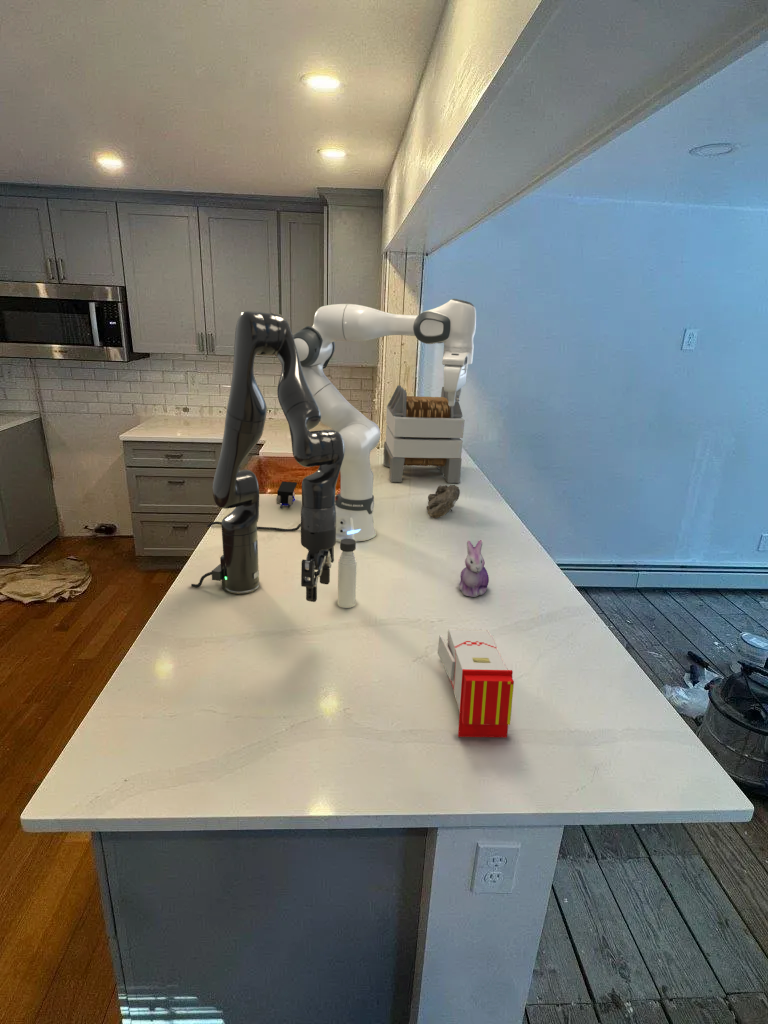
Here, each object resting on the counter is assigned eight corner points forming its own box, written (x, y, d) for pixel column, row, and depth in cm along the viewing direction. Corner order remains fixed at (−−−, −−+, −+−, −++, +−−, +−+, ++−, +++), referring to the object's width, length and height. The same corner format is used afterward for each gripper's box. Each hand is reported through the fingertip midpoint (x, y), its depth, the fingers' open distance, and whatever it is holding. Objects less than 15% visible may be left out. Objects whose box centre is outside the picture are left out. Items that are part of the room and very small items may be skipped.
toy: (488, 613, 130) (523, 677, 101) (484, 667, 133) (517, 744, 104) (435, 612, 130) (455, 676, 101) (432, 666, 133) (451, 743, 103)
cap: (354, 545, 148) (354, 538, 148) (356, 551, 145) (357, 544, 144) (338, 546, 147) (339, 538, 147) (341, 552, 144) (341, 544, 143)
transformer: (382, 463, 289) (386, 382, 275) (445, 464, 293) (451, 384, 279) (390, 482, 257) (394, 392, 243) (460, 483, 261) (468, 394, 247)
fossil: (423, 490, 234) (453, 471, 229) (436, 508, 237) (466, 489, 232) (421, 514, 215) (454, 493, 210) (435, 532, 217) (468, 512, 212)
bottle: (353, 598, 154) (355, 538, 148) (356, 607, 150) (358, 546, 144) (336, 600, 153) (337, 539, 147) (339, 608, 149) (340, 546, 143)
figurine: (470, 601, 155) (475, 551, 150) (449, 585, 164) (454, 537, 159) (497, 594, 160) (504, 545, 154) (476, 579, 168) (481, 532, 163)
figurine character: (293, 513, 218) (297, 497, 231) (292, 495, 215) (297, 480, 228) (275, 513, 218) (281, 496, 231) (274, 495, 214) (280, 479, 228)
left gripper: (313, 511, 128) (313, 575, 133) (288, 533, 115) (290, 604, 120) (345, 515, 126) (344, 580, 132) (324, 538, 113) (323, 609, 119)
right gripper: (453, 354, 180) (449, 398, 185) (441, 358, 161) (437, 407, 166) (473, 355, 178) (468, 399, 183) (463, 360, 160) (459, 409, 164)
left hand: (318, 591), depth 126 cm, fingers open, 8 cm apart
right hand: (454, 403), depth 174 cm, fingers open, 8 cm apart
